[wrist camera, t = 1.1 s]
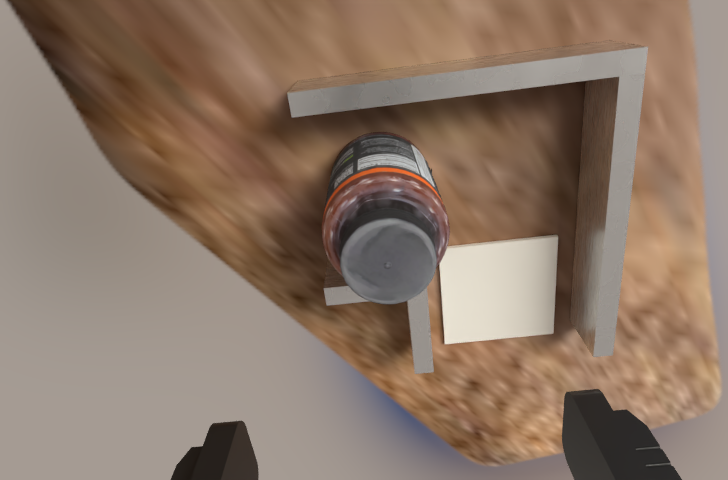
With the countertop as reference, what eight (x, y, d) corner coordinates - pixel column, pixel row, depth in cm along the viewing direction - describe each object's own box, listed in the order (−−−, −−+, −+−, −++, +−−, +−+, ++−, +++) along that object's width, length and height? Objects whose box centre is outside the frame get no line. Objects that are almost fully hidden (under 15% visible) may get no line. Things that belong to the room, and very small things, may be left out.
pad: (438, 247, 33) (438, 249, 32) (556, 234, 32) (558, 236, 32) (444, 341, 36) (445, 344, 36) (551, 331, 35) (553, 333, 35)
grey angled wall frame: (297, 81, 28) (287, 93, 24) (610, 40, 27) (647, 46, 23) (343, 342, 36) (340, 380, 32) (587, 318, 35) (612, 355, 31)
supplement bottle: (410, 232, 32) (430, 341, 22) (320, 207, 31) (298, 307, 21) (443, 145, 30) (484, 223, 19) (347, 115, 29) (336, 179, 19)
